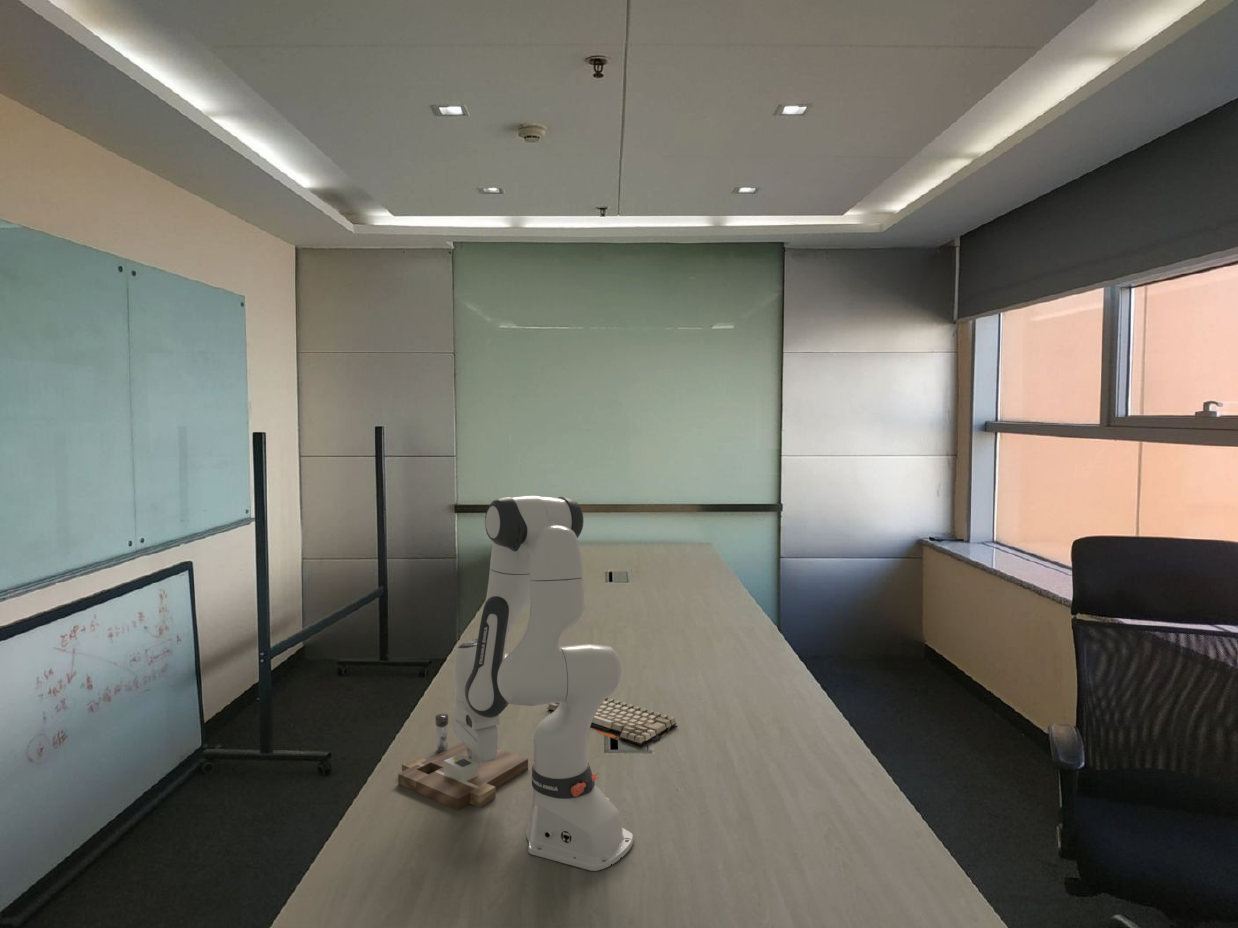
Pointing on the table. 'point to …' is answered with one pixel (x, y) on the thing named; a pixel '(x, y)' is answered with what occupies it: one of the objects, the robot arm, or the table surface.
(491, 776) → the board
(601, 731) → the mechanical keyboard
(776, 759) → the table surface
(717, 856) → the table surface
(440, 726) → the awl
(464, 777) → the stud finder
